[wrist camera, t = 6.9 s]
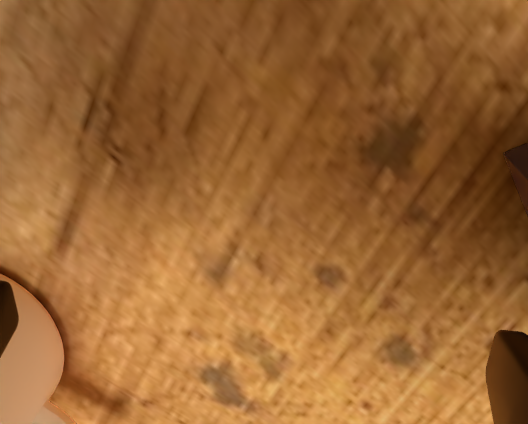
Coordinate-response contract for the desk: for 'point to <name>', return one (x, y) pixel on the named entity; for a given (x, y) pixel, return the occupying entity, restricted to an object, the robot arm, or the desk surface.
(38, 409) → the mug
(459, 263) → the desk surface
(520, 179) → the dial panel
